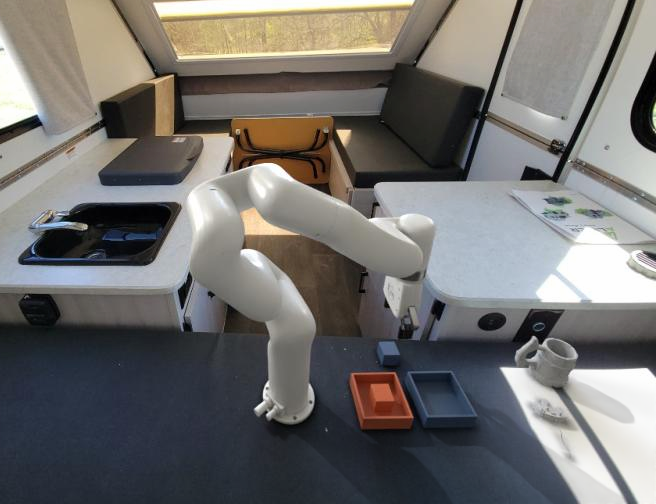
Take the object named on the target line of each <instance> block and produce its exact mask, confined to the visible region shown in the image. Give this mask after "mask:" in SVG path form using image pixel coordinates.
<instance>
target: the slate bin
mask: <svg viewBox="0 0 656 504" xmlns="http://www.w3.org/2000/svg"><path fill="white" fill-rule="evenodd" d="M404 384H405V386H406V388H407V391H408V393H409V396H410V398H411V400H412V403H413V406H414V408H415V410H416V413H417V415H418V418H419V420H420V423H421V425H422V427H423V429H437V428H438V429H441V428H442V429H443V428H474V426H475V424H476V422H477V420H478V418H479V416H478V414H477V412H476V410H475V409H474V407H473V405H472V404H471V402H470V400H469V398H468V396H467V395H466V393H465V391H464V390H463V388H462V385H461V384H460V382H459V380H458V378H457V377H456V375H455V373H454V371H453V370H430V371H429V370H428V371H427V370H426V371H425V370H423V371H421V370H419V371H407V372H406V376H405V379H404Z"/></svg>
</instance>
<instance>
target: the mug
mask: <svg viewBox="0 0 656 504" xmlns="http://www.w3.org/2000/svg"><path fill="white" fill-rule="evenodd" d="M535 351H536V353H535V355H534V356H533V357H531V358H526V357H527V355H528V354H530V353H533V352H535ZM578 359H579V354H578V352H577V351H576V349H575V348H574V347H573V346H572V345H571V344H569V343H568V342H566V341H564V340H562V339H559V338H554V337H549V338H545V339H544V341H543V343H542V344H540V342H539V339H538V338H537V337H536V336H535V335H532V336H531V338H530V340H529V341H527V342H526V343H525V344H524V345H522V346H521V347H520V348H519V349H517V350H516V352H515V355H514V361H515V364H516V366H517V368H519V369H520V368H526V367H528V370H529V372H530V374H531V376H532V377H533V378H534V379H536V380H537V381H539V383H541V384H543V385H545V386H547V387H550V388H552V387H553V388H562V387H564V386H565V385H567V383H568V382H569V379H570V377H569V376H570V374H571V372H572V371H574V369H575V368H576V363H577V360H578Z"/></svg>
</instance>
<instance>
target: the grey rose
mask: <svg viewBox="0 0 656 504" xmlns="http://www.w3.org/2000/svg"><path fill="white" fill-rule="evenodd" d="M532 408H533V410H534V411H535V412H536V414H537V415H538V416H540V417H542V418H544V419H547V420H550V421H554V423H555V424H556V426H558V429H559V431H560V437H561V440H562V443H563V445H564V446H565V447H566V449H567V451H568V455H569V459H571V458H572V456H571V453H570V450H569V447H568V446H567V445H566V444H565V442H564V440H563V433H562V430H561V428H560V426H559V425H558V424H557V422H565V421H566V419H567V416H568V415H567V413H566V411H565V409H564V408H562V407H560V406H557V407H556V409H555V407H554V406H553V404H551V403H550V401H548V400H547V399H546V398H542V399H541V403H539V402H537V401H534V402H533V404H532Z"/></svg>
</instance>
